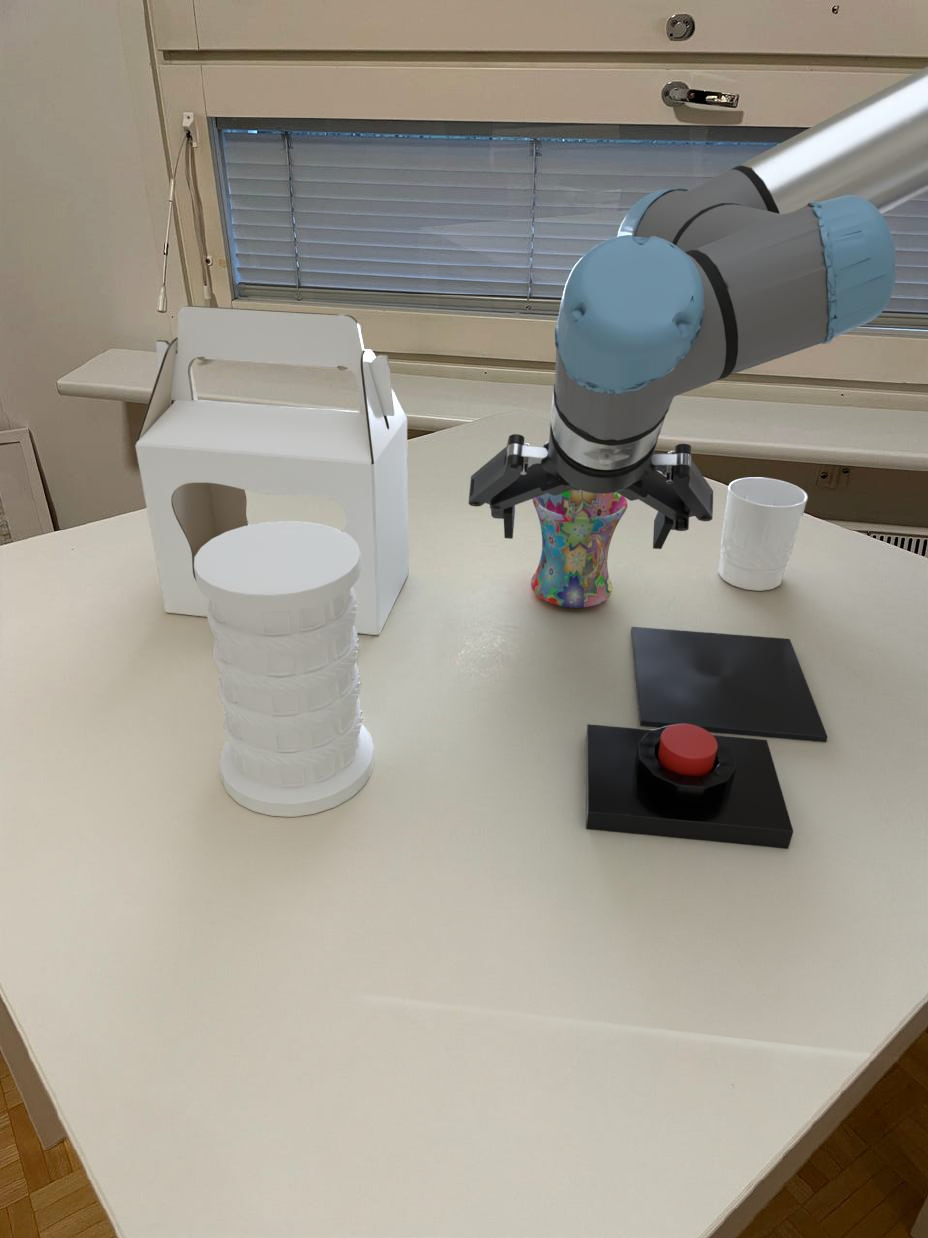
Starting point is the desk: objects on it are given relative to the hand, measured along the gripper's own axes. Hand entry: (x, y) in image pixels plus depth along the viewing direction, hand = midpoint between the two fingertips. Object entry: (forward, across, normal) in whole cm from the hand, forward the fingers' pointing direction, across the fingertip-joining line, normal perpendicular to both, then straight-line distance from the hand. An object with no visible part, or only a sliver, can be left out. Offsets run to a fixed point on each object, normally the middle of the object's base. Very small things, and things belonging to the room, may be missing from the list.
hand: (583, 529), depth 81 cm
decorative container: (-10, -21, -24) cm, 34 cm away
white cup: (+16, +19, +2) cm, 25 cm away
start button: (-11, +8, -21) cm, 25 cm away
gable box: (+9, -29, -6) cm, 31 cm away
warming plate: (+1, +13, -13) cm, 19 cm away
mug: (+11, 0, -4) cm, 11 cm away
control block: (-9, +8, -24) cm, 27 cm away
